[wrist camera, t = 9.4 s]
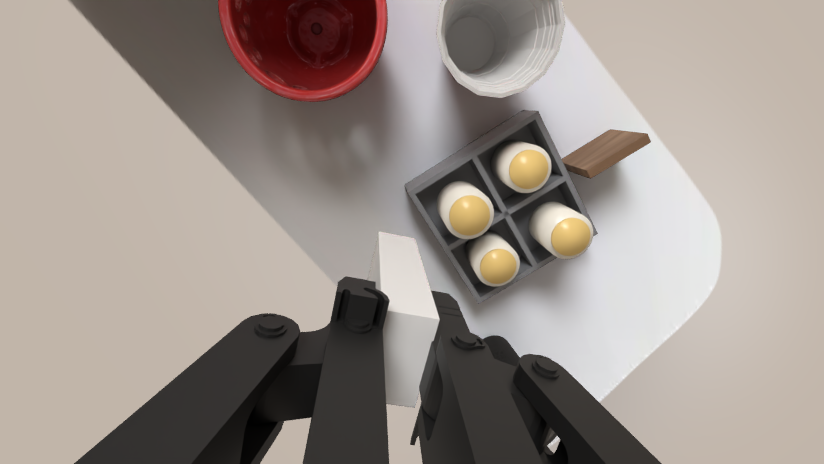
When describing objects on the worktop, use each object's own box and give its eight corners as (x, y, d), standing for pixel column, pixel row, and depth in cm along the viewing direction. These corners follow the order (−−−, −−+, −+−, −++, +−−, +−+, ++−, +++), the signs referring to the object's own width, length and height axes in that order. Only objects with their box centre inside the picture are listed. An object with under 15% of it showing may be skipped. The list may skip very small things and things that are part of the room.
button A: (428, 196, 45) (435, 208, 40) (467, 172, 45) (479, 181, 40) (450, 233, 47) (460, 249, 41) (489, 209, 46) (503, 223, 41)
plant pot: (229, 12, 42) (176, -21, 31) (337, -64, 41) (323, -129, 29) (307, 125, 46) (286, 132, 34) (408, 57, 45) (419, 42, 33)
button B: (483, 155, 47) (496, 162, 42) (521, 131, 46) (540, 135, 41) (503, 192, 48) (518, 202, 43) (540, 169, 48) (560, 177, 43)
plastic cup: (447, 116, 47) (471, 121, 35) (402, 22, 44) (413, -7, 32) (533, 69, 46) (586, 59, 35) (495, -30, 43) (539, -78, 31)
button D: (521, 216, 47) (539, 230, 42) (560, 193, 46) (583, 204, 41) (540, 251, 48) (560, 269, 43) (578, 229, 48) (602, 244, 43)
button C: (458, 244, 50) (467, 261, 45) (494, 222, 49) (508, 236, 44) (477, 276, 51) (489, 296, 46) (513, 255, 51) (528, 272, 46)
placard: (558, 161, 50) (586, 170, 43) (610, 129, 49) (647, 133, 42) (562, 169, 50) (591, 180, 43) (613, 138, 49) (651, 143, 43)
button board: (404, 184, 49) (407, 192, 44) (523, 110, 47) (537, 111, 43) (470, 288, 53) (478, 304, 49) (579, 223, 52) (597, 233, 48)
